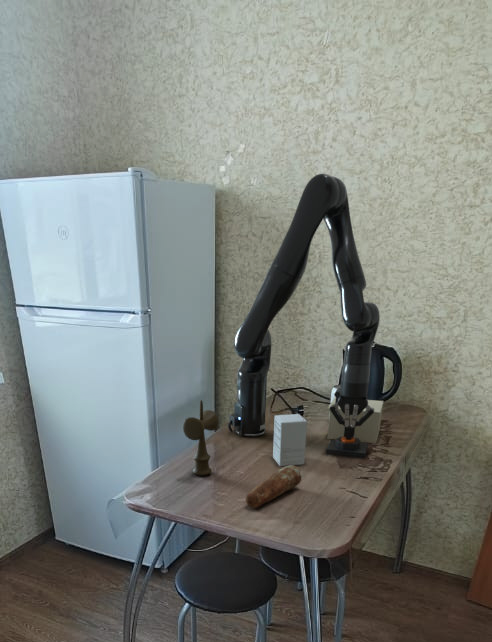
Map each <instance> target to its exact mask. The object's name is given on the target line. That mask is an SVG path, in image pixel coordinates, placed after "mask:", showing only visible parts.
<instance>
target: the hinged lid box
mask: <svg viewBox="0 0 492 642" xmlns="http://www.w3.org/2000/svg"><path fill="white" fill-rule="evenodd" d="M383 407H384V405H383V406H382V409H381V413H380V415H374V414H372V415H371V416H370V417H369V418H368V419H367V420H366V421H365V422H364V423H363V424H362V425H361V426H356V427H355V433H354V438H358V439H359V440H360V443H368V444H377V441H378V438H379V435H380V431H381V425H382V417H383V416H382V415H383V409H384V408H383ZM339 413H340V414H341V416H342V417H343V419H344V420H345V414H344V413H343V412H339ZM329 414H330V417H329V416H328V428H327V429H328V430H327V439H328V440H336V439H337V438H339V437H344V429H345V427H344V425H342V424H339V423H338V421H337V420H336V418H335V417H334V415H333V414H332V412H331V411H329ZM364 415H365V414H362V413H360V414H359V415H358V416H357V421H358V420H360V419H361V418H362V417H363V416H364ZM351 421H352V415H350V426H351Z"/></svg>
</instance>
